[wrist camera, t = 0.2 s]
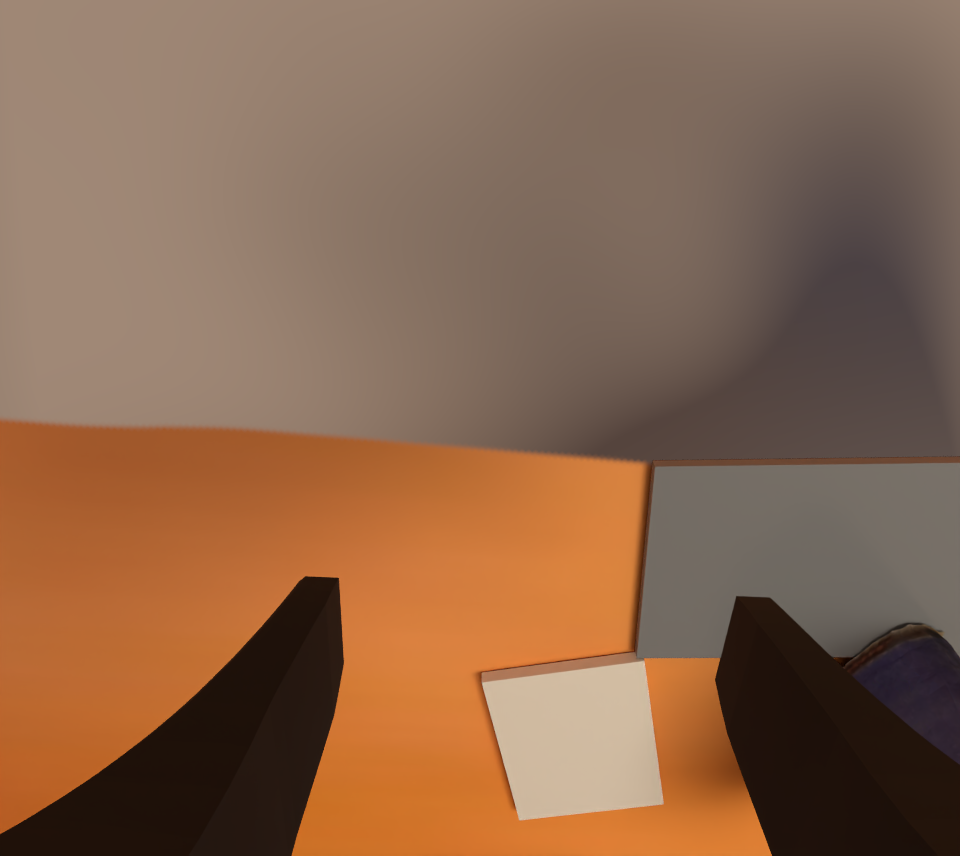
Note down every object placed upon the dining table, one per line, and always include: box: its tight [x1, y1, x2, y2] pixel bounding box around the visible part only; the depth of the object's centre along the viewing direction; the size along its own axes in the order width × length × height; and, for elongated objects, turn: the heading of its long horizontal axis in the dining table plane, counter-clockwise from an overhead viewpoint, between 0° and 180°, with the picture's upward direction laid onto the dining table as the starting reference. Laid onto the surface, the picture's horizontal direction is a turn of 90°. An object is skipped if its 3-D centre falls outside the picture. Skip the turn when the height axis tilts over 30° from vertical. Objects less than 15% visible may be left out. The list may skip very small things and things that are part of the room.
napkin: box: [482, 652, 664, 820], centre depth 28 cm, size 8×6×1 cm
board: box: [635, 457, 960, 658], centre depth 24 cm, size 8×14×1 cm, turn 91°
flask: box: [843, 624, 960, 765], centre depth 23 cm, size 9×3×11 cm, turn 155°
